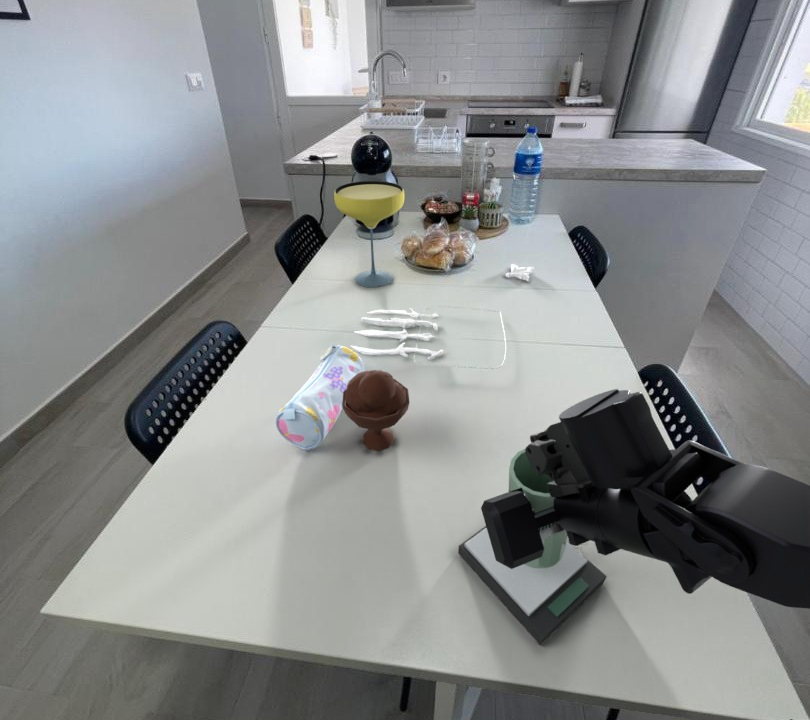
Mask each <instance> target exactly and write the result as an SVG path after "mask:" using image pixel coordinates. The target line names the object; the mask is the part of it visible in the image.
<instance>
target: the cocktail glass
mask: <svg viewBox="0 0 810 720" xmlns="http://www.w3.org/2000/svg"><path fill="white" fill-rule="evenodd" d="M333 197H334V198H333V199H334V204H335V207H336V208H337V209H338V211H340V212H341V213H342V214H344V215H345V216H347V217H350V218H352V219H354V220H357V221H359V222H361V223H363V225H364V226H365V227H366V228H367V229H369V232H370V233H369V235H370V256H371V259H370V260H371V266H370V267H371V268H370V270H366V271H362V272H360V273H358V274H357V275H356V276H355V278H354V281H355V283H356V284H357V285H359V286H361V287H365V288H380V287H385V286H387V285H389V284H390V283H392V281H393V276H392V274H391V273H389V272H387V271H384V270H377V269H376V266H375V264H376V263H375V253H374V234H373V233H374V232H373V229H375V228H376V227H377V225H378V224H379V223H380V222H382V221H383V220H385V219H387V218H390V217H391V216H393V215H395V214H396V213H397V212H399V211H400V210H401V209H402V207H403V206H404V203H405V190H404V188H403V186H402V185H399V184H397V183H394V182H390V181H381V180H364V181H363V180H362V181H354V182H348V183H344V184H342V185H339V186H338V187H336V188H335V190H334V194H333Z"/></svg>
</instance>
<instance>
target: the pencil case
mask: <svg viewBox="0 0 810 720" xmlns="http://www.w3.org/2000/svg"><path fill="white" fill-rule="evenodd" d="M319 361H322V362H321V363H320V364H319V365H318V367H317V368H316V369H315V370H314V372H313V373H312V374H311V376H310V377H309V379H308V380H307V381H306V382H305V383H304V384H303V385H302V387H301V388H300V389H299V390H298V391H297V392H296V393H295V394H294V396H293V397H292V398H291V399H290V400H289V401H288V402H287V403H285V405H284V406H282V407H281V408H280V409H279V410H278V412H277V414H276V417H275V427H276V430H277V432H278V434H280V436H281V437H282V438H283V439H284V440H285V441H287V442H288V443H290V444H291V445H293V446H295V447H297V448H299V449H302V450H305V451H310V450H313V449H315V448H318V447H319V446H320V445H322V444H323V442H324V441H325V438H326V437H327V435H328V434H329V432H330V431H331V430H332V429H333V427H334V425H335V424H336V423H337V421H338V418H339V417H340V415H341V413H342V411H343V407H342V401H343V392H344V391H345V390H346V389H347V384H348V382H349V381H350V380H351V379H352V378H353V377H354V376H355V375H357V374H358V373H360V372H363V371H366V370H365V366H364V362H363V359H362V358H361V357H360V355H359V354H358V352H356V351H355V350H352V349H351V348H348V347H347V346H344V345H343V346H342V345H340V344H338V345H337V346H335V345H330V347H329V348H328V349H327V350H326V352H325V354H323V355H322V356H321V357H319Z"/></svg>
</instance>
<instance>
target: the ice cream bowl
mask: <svg viewBox="0 0 810 720" xmlns="http://www.w3.org/2000/svg"><path fill="white" fill-rule="evenodd" d="M409 395H410V393H409V388H408V387H406V386H405V385H404V384H402V383H401V382H399V381H398V380H397V379H396V378H394V376H393V375H392V374H391V373H390V372H388V371H383V370H381V369H378V370H377V369H372V370H365V371H363V372H360V373H358V374H357V375H355V376H354V377H353V378H352V379H351V380H350V381H349V382H348V384H347V389H346V390H345V391H344V392H343V401H342V407H343V409H342V411H343V412H344V413H345V416H347V418H349V419H350V420H351V421H352V422H353V423H354V424H355V425H356V426H357V427H359V428H361V429H365V430H366V431H364V433H363V435H362V444H363V445H364V446H365V447H366V448H367V449H368V450H371V451H376V452H380V451H383V450H387V449H389V448H390V447H391V446H392V445H393V443H394V442H395V440H394V433H393V432H392V430H391V429H389V428H392V427H394V426H396V425H397V423H398V422H399V421H400V420H401V419H403V417H404V416H405V415H406V413H407V412H408V410H409V407H410V396H409Z"/></svg>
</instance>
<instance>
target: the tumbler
mask: <svg viewBox="0 0 810 720" xmlns="http://www.w3.org/2000/svg"><path fill="white" fill-rule="evenodd" d="M525 449H526V447H525V448H524V449H521V450H519V451H517V452H516V454H515V455H514V456H513V457H512V458H511V459H510V464H509V469H508V492H510V491H513V490H516V489H519V488H522V489H523V493H524V494H525V496H526V497H527V499H528V500H529V501H530V503H531V506H532V509H534V512H535V513H537V512H539V511H542V510H545V509H547V508H550V507H553V506H554V497H551V495H550V493H549V489H548V486H547V483H549V482H552V481H554V480H551V479H550V478H549V477H548V475H546V474H543V475H540V476H539V475H537V474H536V473H535V472H534V470H533V468H532V466H531V464H530V462H529V460H528V458H527V456H526V453H525ZM548 526H549V525H548ZM544 527H545V526H544ZM538 530H539V529H538ZM566 541H568V536H567V533H566V530H564V531H562V532H559V533H557V534H554V535H552V536H549V537H546V538H545V539H544V544H543V546H544V552H543V555H542V557H540V558H538V559H535V560H533V561H530V562H528V563H525V564H524V565H527V566H529V567H532V568H538V569H543V568H549V567H551V566H554V565H555V564H557V563H558V562H559V561H560V560H561V558H562V557H563V554H564V552H565V547H566Z"/></svg>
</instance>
